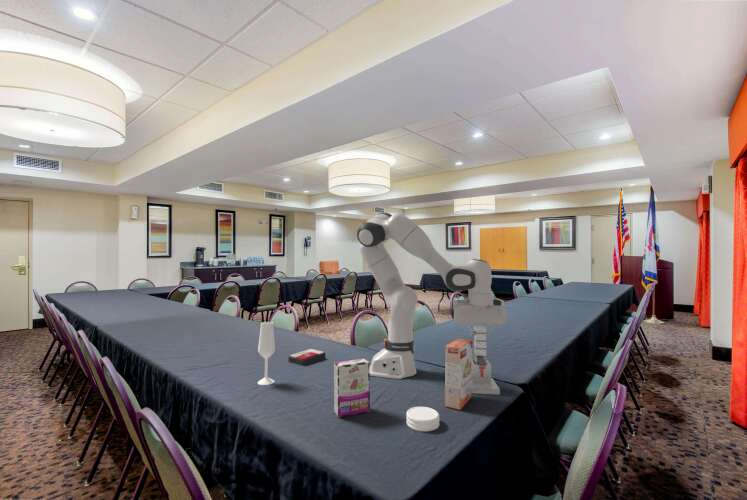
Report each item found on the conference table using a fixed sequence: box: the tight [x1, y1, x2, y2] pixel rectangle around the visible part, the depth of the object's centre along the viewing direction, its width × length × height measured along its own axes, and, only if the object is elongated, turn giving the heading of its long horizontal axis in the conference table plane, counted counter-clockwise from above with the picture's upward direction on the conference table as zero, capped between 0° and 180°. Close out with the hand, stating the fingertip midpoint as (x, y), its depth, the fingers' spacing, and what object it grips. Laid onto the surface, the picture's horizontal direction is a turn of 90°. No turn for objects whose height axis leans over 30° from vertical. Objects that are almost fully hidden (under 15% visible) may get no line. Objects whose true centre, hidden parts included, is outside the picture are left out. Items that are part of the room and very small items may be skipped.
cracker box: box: [444, 338, 474, 411], centre depth 121 cm, size 14×6×21 cm, turn 148°
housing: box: [472, 358, 501, 396], centre depth 135 cm, size 12×12×12 cm
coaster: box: [405, 406, 440, 432], centre depth 105 cm, size 10×10×4 cm
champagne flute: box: [257, 321, 276, 386], centre depth 141 cm, size 7×7×24 cm
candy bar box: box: [333, 358, 371, 418], centre depth 113 cm, size 11×5×16 cm, turn 113°
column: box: [473, 325, 487, 364], centre depth 135 cm, size 4×4×20 cm
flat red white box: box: [288, 348, 326, 367], centre depth 171 cm, size 11×4×15 cm
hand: (479, 335), depth 135 cm, fingers open, 4 cm apart
